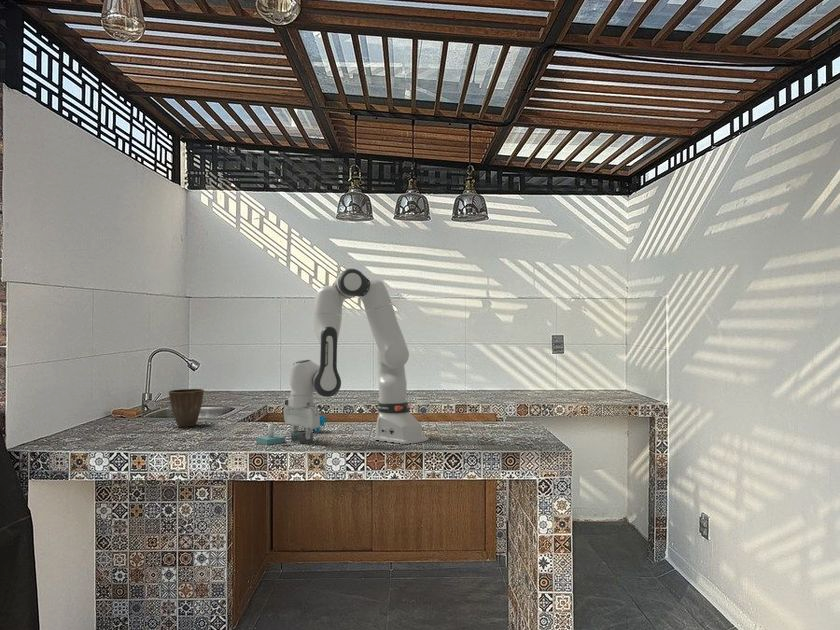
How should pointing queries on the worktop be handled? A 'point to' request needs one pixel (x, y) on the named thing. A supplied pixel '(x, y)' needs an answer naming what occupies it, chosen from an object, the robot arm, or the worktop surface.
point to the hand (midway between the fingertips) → (302, 437)
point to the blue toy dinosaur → (320, 423)
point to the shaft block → (270, 437)
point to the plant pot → (186, 405)
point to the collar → (300, 437)
